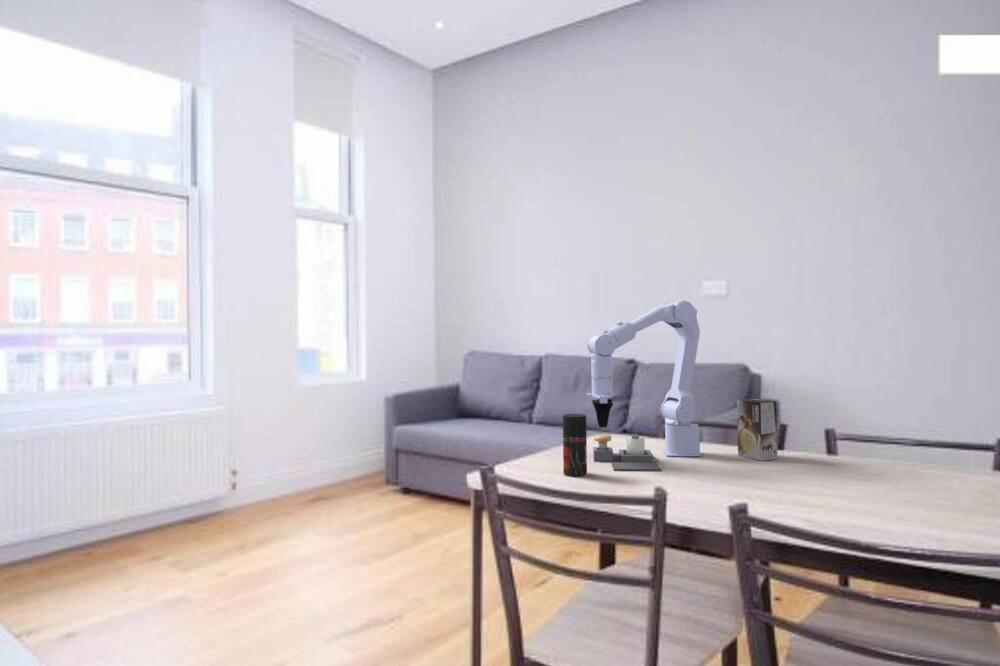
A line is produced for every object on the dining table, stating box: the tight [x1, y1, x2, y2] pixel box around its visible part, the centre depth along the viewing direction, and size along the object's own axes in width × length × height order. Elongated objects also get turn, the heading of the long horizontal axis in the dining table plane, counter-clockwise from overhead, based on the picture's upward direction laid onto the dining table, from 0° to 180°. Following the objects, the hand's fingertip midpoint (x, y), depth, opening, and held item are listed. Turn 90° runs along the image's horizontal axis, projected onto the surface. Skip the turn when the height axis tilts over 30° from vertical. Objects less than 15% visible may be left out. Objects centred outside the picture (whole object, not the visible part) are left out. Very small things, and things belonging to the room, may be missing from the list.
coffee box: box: [736, 397, 779, 462], centre depth 185 cm, size 9×6×16 cm
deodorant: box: [562, 413, 588, 478], centre depth 168 cm, size 6×6×15 cm
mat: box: [611, 461, 662, 472], centre depth 174 cm, size 12×8×1 cm, turn 84°
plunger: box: [593, 434, 612, 450], centre depth 185 cm, size 5×5×4 cm
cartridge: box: [625, 434, 646, 455], centre depth 184 cm, size 5×5×7 cm
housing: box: [592, 446, 654, 463], centre depth 185 cm, size 16×9×3 cm, turn 84°
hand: (602, 426), depth 185 cm, fingers open, 3 cm apart
